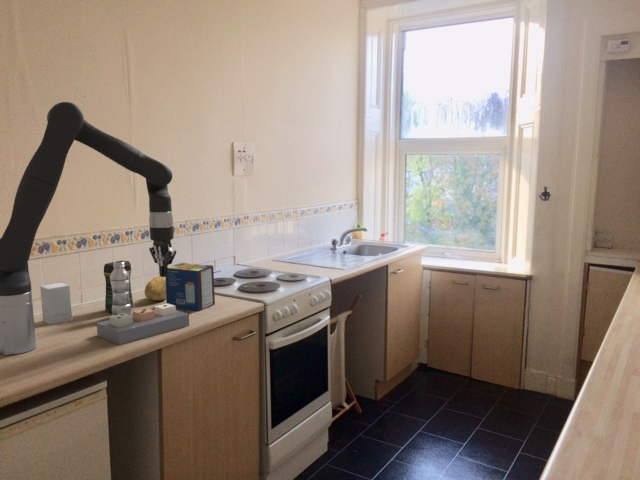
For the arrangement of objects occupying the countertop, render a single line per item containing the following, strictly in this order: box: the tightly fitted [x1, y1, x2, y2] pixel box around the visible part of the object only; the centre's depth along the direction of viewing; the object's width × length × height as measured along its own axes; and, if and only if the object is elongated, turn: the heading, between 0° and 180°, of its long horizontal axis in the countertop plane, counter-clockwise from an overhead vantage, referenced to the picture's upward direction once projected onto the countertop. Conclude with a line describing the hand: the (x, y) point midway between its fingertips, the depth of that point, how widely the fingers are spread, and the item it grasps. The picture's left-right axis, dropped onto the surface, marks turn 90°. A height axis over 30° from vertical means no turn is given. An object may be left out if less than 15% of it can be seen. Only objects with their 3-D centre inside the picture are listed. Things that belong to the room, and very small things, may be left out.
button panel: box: [96, 308, 190, 346], centre depth 172 cm, size 25×14×4 cm, turn 139°
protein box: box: [165, 262, 216, 312], centre depth 201 cm, size 10×15×16 cm
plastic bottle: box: [110, 260, 133, 316], centre depth 186 cm, size 6×7×20 cm
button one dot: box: [154, 303, 177, 316], centre depth 178 cm, size 5×5×5 cm
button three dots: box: [132, 307, 155, 322], centre depth 172 cm, size 5×5×5 cm
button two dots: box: [108, 313, 133, 328], centre depth 166 cm, size 5×5×5 cm
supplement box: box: [39, 282, 73, 326], centre depth 182 cm, size 7×7×13 cm
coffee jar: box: [103, 259, 134, 314], centre depth 195 cm, size 10×8×19 cm
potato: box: [144, 275, 166, 301], centre depth 211 cm, size 10×14×10 cm
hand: (163, 276), depth 176 cm, fingers closed
